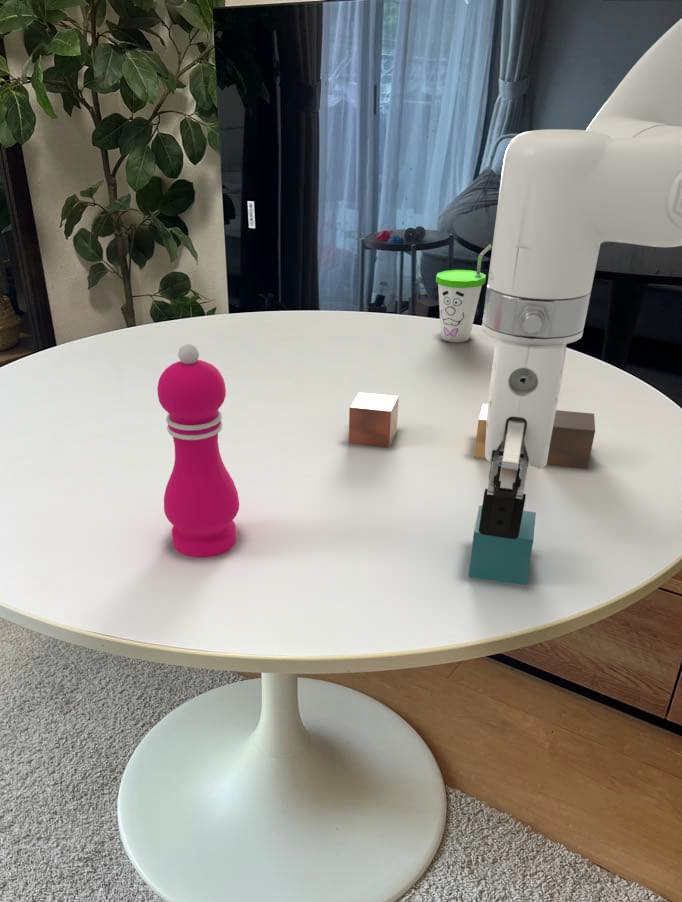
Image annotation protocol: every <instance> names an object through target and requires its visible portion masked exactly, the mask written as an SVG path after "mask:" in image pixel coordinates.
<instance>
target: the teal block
mask: <svg viewBox="0 0 682 902" xmlns="http://www.w3.org/2000/svg"><path fill="white" fill-rule="evenodd" d="M481 512H482V505H479V506H478V510H477V516H476V519H475V520H476V521H475V525H474V529H473V536H472V544H471V552H470V560H469V569H468V577H469V578H475V579H482V580H488V581H495V582H501V583H508V584H515V585H523V586H526V585H527V581H528V574H529V568H530V563H531V557H532V551H533V546H534V538H535V527H536V526H535V525H536V512H535V511H530V510H529V511H528V510H523V515H522V520H521V526H520V531H519V536H518V538H516V539H509V538H502V537H496V536H489V535H483V534H480V532H479V525H480V518H481Z"/></svg>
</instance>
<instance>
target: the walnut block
mask: <svg viewBox="0 0 682 902" xmlns="http://www.w3.org/2000/svg"><path fill="white" fill-rule="evenodd" d="M595 421H596V420H595V413H592V412H591V413H590V412H581V411H580V412H579V411H570V410H569V411H567V410H557V409H556V414H555V419H554V424H553V430H552V435H551V441H550V447H549V453H548V459H547V465H546V466H553V467H560V468H561V467H563V468H572V469H582V470H589V469H588V468H589V464H590V459H591V454H592V449H593V444H594V439H595V434H596V422H595Z"/></svg>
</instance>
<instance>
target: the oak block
mask: <svg viewBox="0 0 682 902" xmlns="http://www.w3.org/2000/svg"><path fill="white" fill-rule="evenodd" d="M487 411H488V403H482V405H481V408H480V412H479V415H478V421H477V429H476V436H475V437H476V438H475V439H476V440H475V445H474V446H475V447H474V455H473V457H474V458H479V459H486V458H485V442H486V424H487Z"/></svg>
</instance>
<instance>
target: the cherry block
mask: <svg viewBox="0 0 682 902" xmlns="http://www.w3.org/2000/svg"><path fill="white" fill-rule="evenodd" d="M399 398H400V396H399V395H390V394H379V393H369V392H368V393H367V392H358V393H357V395H356V396H355V398H354V400H353V401H352V403H351V404H350V406H349V408H348V409H349V413H348V414H349V415H348V419H349V420H348V444H349V445H359V446H367V447H375V448H376V447H379V448H386V449H390V447H391V445H392V443H393V440H394V439H395V436H396V434H397V432H398V418H399V417H398V415H399Z"/></svg>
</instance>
